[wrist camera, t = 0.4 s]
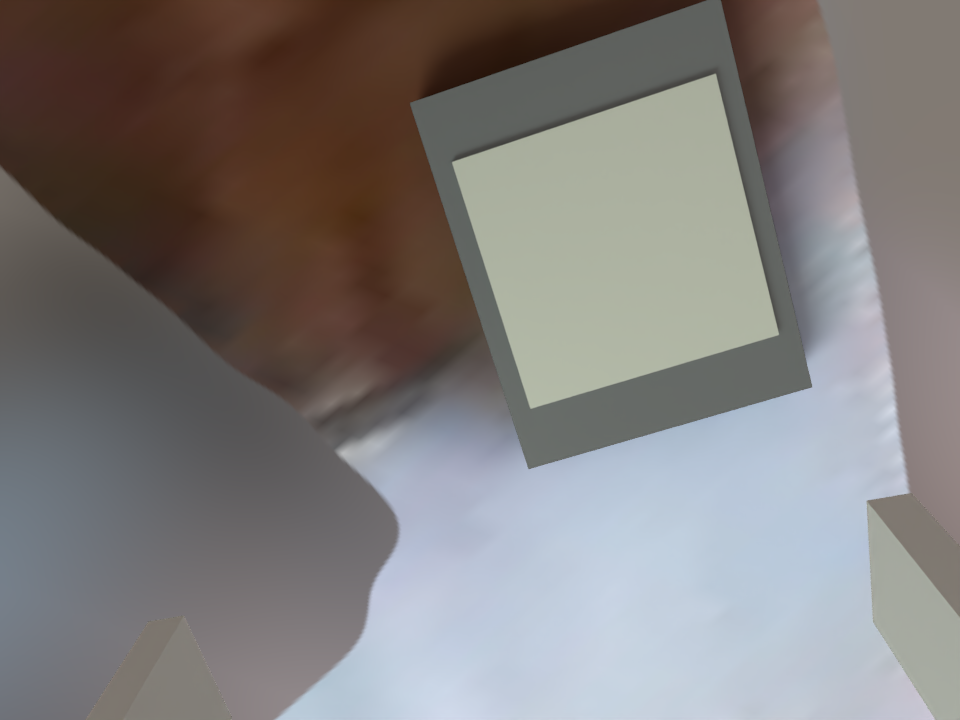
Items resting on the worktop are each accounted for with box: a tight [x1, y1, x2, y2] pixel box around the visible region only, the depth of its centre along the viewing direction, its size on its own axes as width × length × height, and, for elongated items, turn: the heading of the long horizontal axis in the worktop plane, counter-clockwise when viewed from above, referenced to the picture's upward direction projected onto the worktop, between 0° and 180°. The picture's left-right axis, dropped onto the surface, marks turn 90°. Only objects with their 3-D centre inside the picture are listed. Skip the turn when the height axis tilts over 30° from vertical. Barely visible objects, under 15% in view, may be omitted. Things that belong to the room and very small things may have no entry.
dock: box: [410, 0, 812, 469], centre depth 35 cm, size 18×14×3 cm
